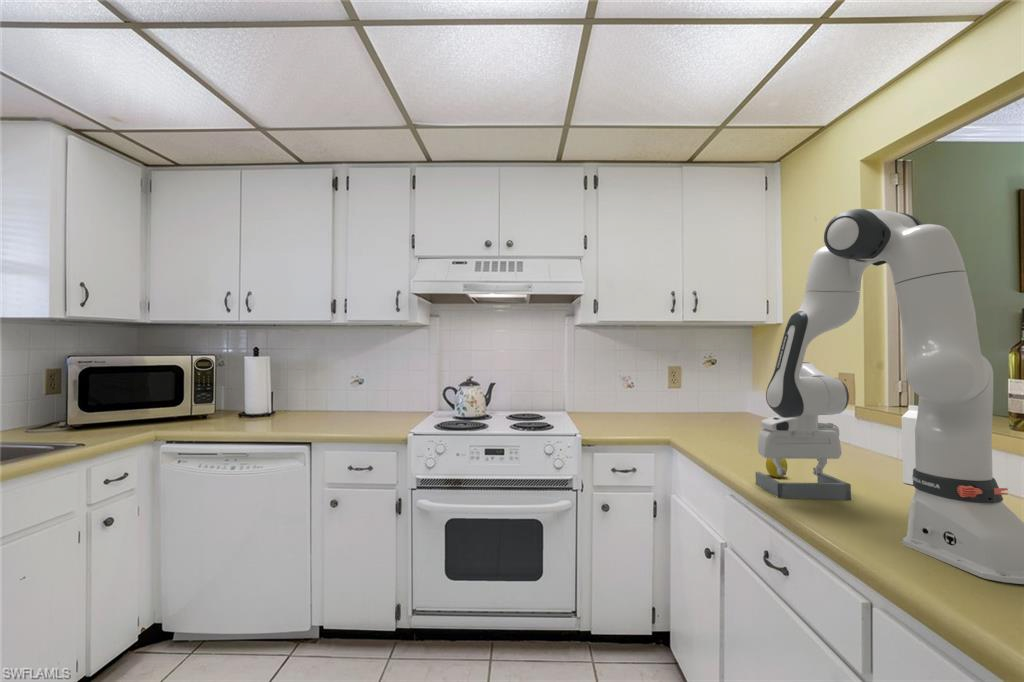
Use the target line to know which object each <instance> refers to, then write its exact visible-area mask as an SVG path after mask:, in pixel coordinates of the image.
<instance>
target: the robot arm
mask: <svg viewBox="0 0 1024 682" xmlns="http://www.w3.org/2000/svg"><path fill="white" fill-rule="evenodd" d="M823 243H824V246H822V247H820V248H819V249H817V250H816V251H815V253H813V256H812V257H811V258H812V259H811V262H810V264H809V267H808V271H807V277H806V283H805V292H804V297H803V300H802V302H801V304H800V306H799V308H798V309H797V310H796V312H795V313H793V314H791V316H790V318H789V319H788V321H787V323H786V326H785V331H784V333H783V337H782V340H781V344H780V348H779V352H778V356H777V360H776V364H775V367H774V371H773V374H772V376H771V379H770V381H769V382H768V385H767V388H766V391H765V399H766V403H767V405H768V406H769V408H770V409H771V410H772V411H773V412H774V413H776V414H777V415H774V416H770V417H768V418H765V419H762V420H761V421H760V426H761V428H762V429H761V430H760V432H759V434H758V441H757V453H758V454H759V456H761V457H763V458H765V459H767V458H772V461H773V463H774V464H775V466H776V467H777V474H778V475H784V476H787V472H786V469H785V468H783V467H782V466H781V465H780V463H781V462H782V459H786V460H787V459H789V460H790V459H792V460H793V459H794V460H795V459H798V460H799V459H801V460H803V459H804V460H805V459H808V460H809V459H811V460H812V459H814V460H815V459H816V461H817V465H816V466H815V467H812V474H813V475H814V476H822V475H823V473H824V472H823V471H824V468H825V467H826V465H827V464H828V459H829V460H833V459H834V460H837V459H838V460H839V459H840V457H841V456H842V446H841V440H840V428H839V427H838V426H837V425H836V424H834V423H832V422H828V423H826V422H825V423H823V422H819V416H828V415H829V416H832V415H838V414H841V413H843V412H844V411H845V410H846V409H847V407H848V404H849V401H850V394H849V388H848V387H847V385H846V383H844V382H843V380H842V379H840V378H838V377H833V376H831V375H828V374H826V373H823V372H822V371H821V370H819V369H818V368H817V367H816V365H815V364H814V363H811V362H807V361H805V362H804V359H805V357H806V356H805V355H806V351H807V348H808V346H809V344H811V342H812V341H813V340H814V339H816V338H817V337H819V336H821V335H823V334H825V333H827V332H829V331H832V330H835V329H838V328H840V327H842V326H844V325H845V324H847V323H848V322H849V321H851V320H852V319H853V318H854V317H855V315H856V314H857V311H858V309H859V304H860V297H861V287H862V286H861V285H862V277H863V274H864V272H865V270H866V269H867V268H868V267H869V266H870V265H873V266H876V267H877V266H881V265H885V264H888V266H889V268H890V270H891V275H892V282H893V285H894V290H895V295H896V301H897V304H898V309H899V315H900V319H901V327H902V346H903V355H904V364H905V370H906V380H907V383H908V385H909V387H910V389H911V390H912V391H913V392H914V393H915V394H916V395H918V405H917V406H918V413H917V421H916V426H915V465H916V468H914V469H913V475H912V479H913V485H912V486H913V487H914V488H915V489H914V495H913V497H912V500H911V501H910V504H909V512H908V521H907V522H908V523H907V530H906V531H907V532H906V536H905V537H903V538H902V542H901V544H902V545H903V544H904V545H903V546H905V545H906V547H907V546H908V548H910V547H911V548H910V549H912V548H913V549H912V550H914V549H915V551H917V552H919V553H921V554H924V555H927V556H929V557H931V558H934V559H936V560H939V561H941V562H944V563H946V564H948V565H949V566H953V567H955V568H957V569H960V570H963V571H965V572H967V573H970V574H972V575H974V576H977V577H980V578H981V579H985V580H990V581H996V582H1002V583H1008V584H1019V585H1024V521H1023V520H1022V519H1020V518H1019V517H1018V515H1016V514H1015V512H1013V511H1012V510H1011V509H1010V508H1009V507H1008V506H1007V505H1006V504H1005V503H1004V502H1003V501H1004V497H1003V495H1005V496H1008V495H1009V493H1007V492H1004V491H1008V490H1009V488H1007V487H1000V486H999V485H998V482H997V480H996V479H995V478H994V476H993V447H992V446H993V445H992V443H993V442H992V441H993V439H992V433H993V432H992V431H993V416H994V415H993V413H994V412H993V411H994V410H993V409H994V370H993V366H992V364H991V363H990V361H989V360H988V359H987V358H986V356H984V355H983V354H982V349H981V345H980V344H981V343H980V338H979V332H978V324H977V315H976V308H975V303H974V299H973V296H972V291H971V287H970V283H969V280H968V274H967V270H966V267H965V262H964V259H963V256H962V253H961V251H960V249H959V246H958V245H957V242H956V240H955V238H954V237H953V235H952V232H951V231H950V230H949V229H948V228H947V227H945V226H943V225H939V224H932V223H928V224H927V223H926V224H923V223H922V221H920V220H919V219H918V218H917V217H915V216H913V215H911V214H908V213H906V212H905V213H904V212H896V211H889V210H887V209H880V208H879V209H876V208H875V209H866V208H854V209H850V210H846V211H843V212H841V213H839V214H837V215H836V216H834V217H833V218H832V219H830V221H829V222H828V224H827V225H826V226H825V229H824V234H823ZM779 462H780V463H779ZM785 472H786V473H785Z"/></svg>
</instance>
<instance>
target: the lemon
mask: <svg viewBox="0 0 1024 682" xmlns="http://www.w3.org/2000/svg"><path fill="white" fill-rule="evenodd" d="M779 463H780V462H779ZM780 465H781V466H782V467H783V468H785V469H786V472H785V473H786V474H787V472H788V462H787V459H782V462H781V463H780ZM765 468H766V471H767V473H768V474H769V475H770V476H772V477H773V478H776V479H779V478H782V477H784V476H785V475H778V474H777V467H776V466H775V464H774V463H773V461H772V458H766V461H765Z"/></svg>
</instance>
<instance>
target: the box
mask: <svg viewBox="0 0 1024 682" xmlns="http://www.w3.org/2000/svg"><path fill="white" fill-rule="evenodd" d="M755 484H756V485H757V484H758V485H759V487H760V486H761V487H760V488H762V489H763V488H764V489H763V490H765V489H766V490H767V491H766V490H765V491H766V492H768V493H769V492H770V493H769V494H771V493H772V494H771V495H773V496H774V495H775V496H774V497H776V496H777V497H780V498H779V499H782V498H781V497H784V498H783V499H798V498H803V500H805V499H806V500H809V499H810V500H832V501H833V500H835V501H852V491H851V490H852V488H851V487H852V484H851V483H849V482H847V481H844V480H841V479H839V478H836V477H834V476H832V475H829V474H827V473H824V472H823V475H822V476H817V482H782V481H781V482H780V481H778V480H777V479H774V477H773V478H772V477H770V476H769V475H767V474H765V473H763V472H761V471H755ZM758 485H757V486H758ZM777 497H776V498H777ZM785 497H786V498H785Z"/></svg>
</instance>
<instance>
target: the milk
mask: <svg viewBox="0 0 1024 682" xmlns="http://www.w3.org/2000/svg"><path fill="white" fill-rule="evenodd" d="M917 413H918V405H912V404H909V405H908V410H907V411H906V412H905V413H904V414H903V415H902V416H901V448H902V449H901V450H902V451H901V452H902V455H901V456H902V483H904V484H907V485H910V486H911V485H912V486H913V479H912V475H913V469H914V468H916V465H915V426H916V421H917Z"/></svg>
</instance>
